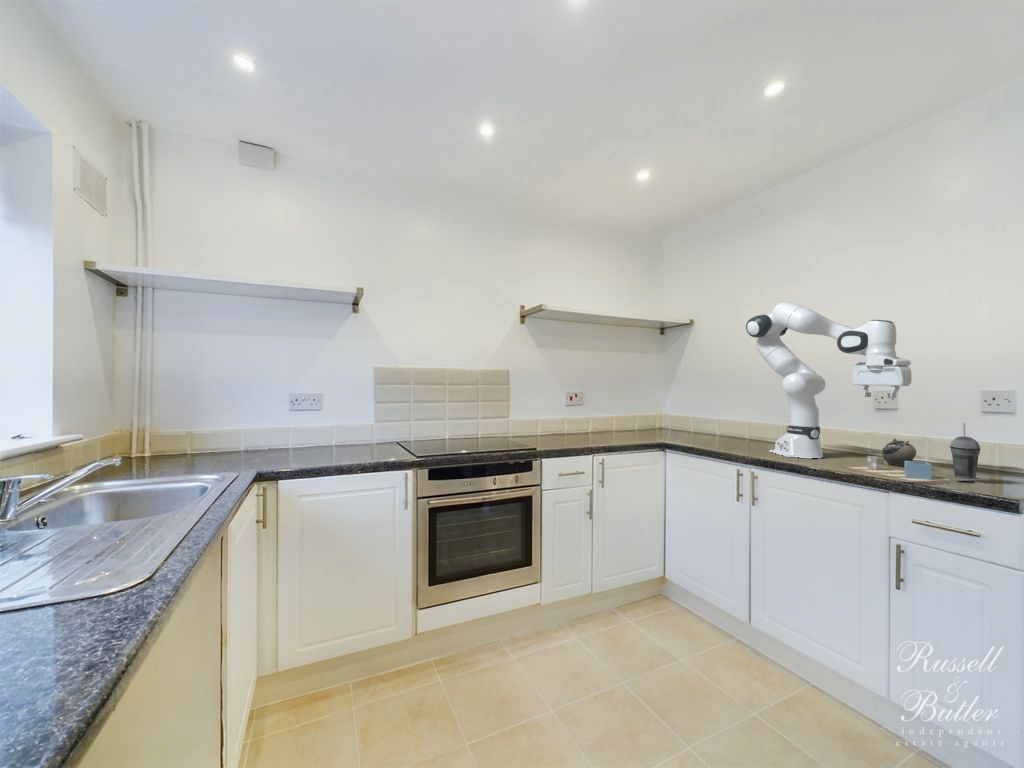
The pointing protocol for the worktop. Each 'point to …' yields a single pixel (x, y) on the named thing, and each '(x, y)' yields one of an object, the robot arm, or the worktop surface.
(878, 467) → the assembly board
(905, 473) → the collar
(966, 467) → the beverage cup
